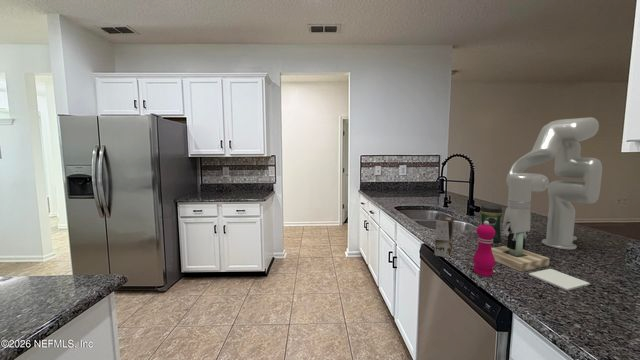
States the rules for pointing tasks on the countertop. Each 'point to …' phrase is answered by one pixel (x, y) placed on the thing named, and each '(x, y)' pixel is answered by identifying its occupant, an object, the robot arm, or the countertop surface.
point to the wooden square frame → (519, 259)
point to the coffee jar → (492, 218)
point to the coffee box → (444, 236)
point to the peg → (517, 245)
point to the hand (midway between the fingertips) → (515, 247)
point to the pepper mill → (484, 250)
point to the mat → (559, 279)
